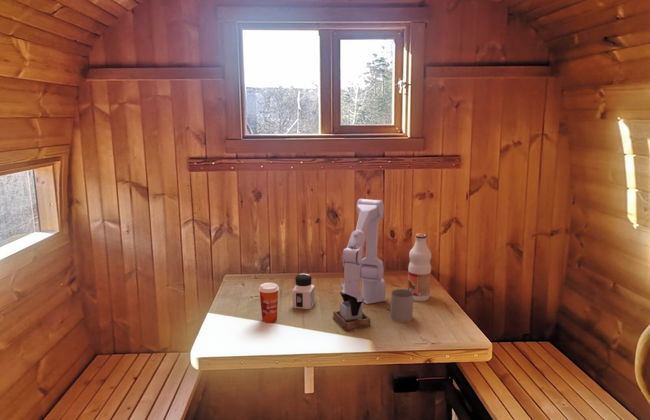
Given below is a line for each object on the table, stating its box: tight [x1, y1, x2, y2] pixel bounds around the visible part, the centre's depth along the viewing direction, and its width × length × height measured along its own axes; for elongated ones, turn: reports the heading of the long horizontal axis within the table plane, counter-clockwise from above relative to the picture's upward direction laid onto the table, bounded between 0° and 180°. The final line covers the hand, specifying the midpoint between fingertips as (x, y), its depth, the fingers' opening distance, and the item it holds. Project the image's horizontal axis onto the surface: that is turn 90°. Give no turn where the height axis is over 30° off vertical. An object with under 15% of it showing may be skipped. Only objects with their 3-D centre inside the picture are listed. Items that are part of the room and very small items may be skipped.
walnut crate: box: [332, 310, 371, 332], centre depth 190 cm, size 10×11×3 cm
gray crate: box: [339, 301, 364, 321], centre depth 189 cm, size 7×5×6 cm
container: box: [291, 273, 316, 310], centre depth 205 cm, size 8×8×13 cm
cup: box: [390, 288, 414, 323], centre depth 193 cm, size 8×8×10 cm
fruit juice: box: [407, 232, 432, 302], centre depth 210 cm, size 9×9×28 cm
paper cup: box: [258, 282, 280, 324], centre depth 191 cm, size 8×8×14 cm
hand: (351, 312), depth 189 cm, fingers closed on gray crate, 5 cm apart
